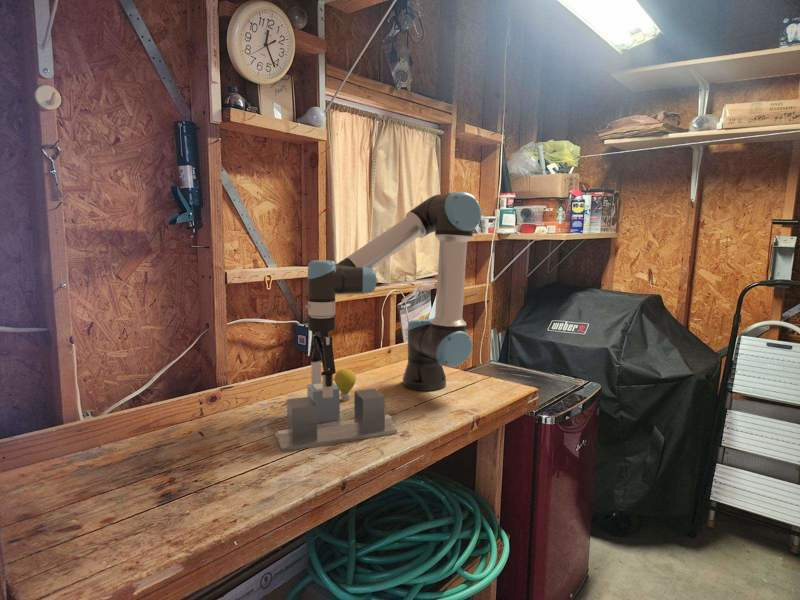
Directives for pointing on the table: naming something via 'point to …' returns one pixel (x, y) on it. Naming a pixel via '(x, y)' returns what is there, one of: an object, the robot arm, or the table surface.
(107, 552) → the table surface
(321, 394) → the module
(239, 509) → the table surface
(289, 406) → the grey block holder
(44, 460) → the table surface
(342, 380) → the light bulb
